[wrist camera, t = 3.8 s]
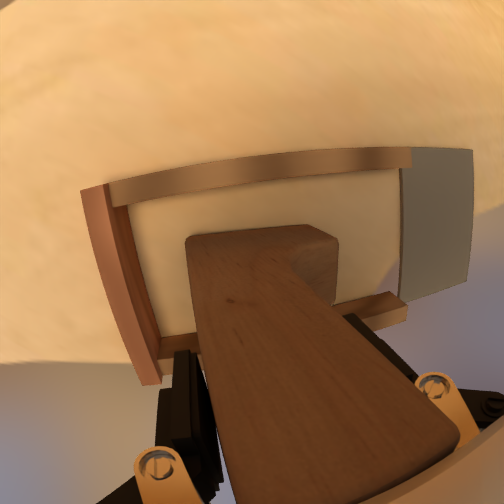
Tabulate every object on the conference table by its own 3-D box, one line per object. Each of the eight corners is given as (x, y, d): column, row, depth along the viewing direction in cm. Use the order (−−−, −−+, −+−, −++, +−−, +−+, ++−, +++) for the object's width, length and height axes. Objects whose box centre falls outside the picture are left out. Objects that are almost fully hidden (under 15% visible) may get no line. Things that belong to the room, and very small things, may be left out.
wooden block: (309, 222, 21) (547, 352, 5) (308, 279, 23) (491, 446, 6) (183, 235, 19) (249, 536, 3) (191, 297, 21) (258, 569, 4)
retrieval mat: (469, 149, 22) (472, 149, 21) (464, 279, 26) (466, 281, 26) (397, 147, 20) (400, 147, 20) (396, 302, 25) (399, 304, 24)
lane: (387, 147, 20) (419, 147, 17) (388, 305, 25) (412, 326, 21) (102, 184, 18) (79, 190, 14) (149, 354, 22) (142, 385, 19)
